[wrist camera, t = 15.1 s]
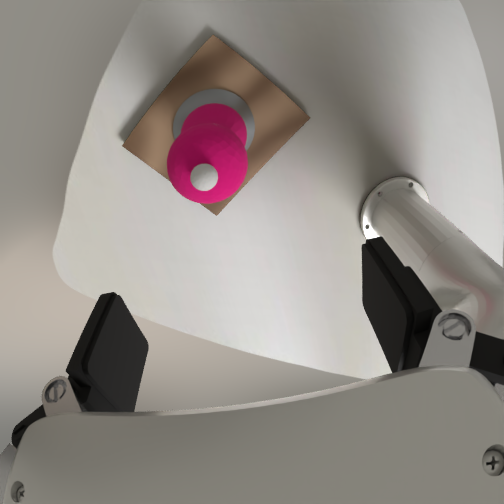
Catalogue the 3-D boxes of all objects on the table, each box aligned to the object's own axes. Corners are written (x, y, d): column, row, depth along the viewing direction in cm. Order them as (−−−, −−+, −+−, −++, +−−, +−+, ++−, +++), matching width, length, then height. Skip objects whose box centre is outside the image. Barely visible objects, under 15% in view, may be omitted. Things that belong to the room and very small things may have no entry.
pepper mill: (194, 94, 33) (159, 112, 16) (252, 109, 35) (278, 142, 18) (179, 149, 37) (138, 219, 20) (235, 163, 38) (242, 243, 21)
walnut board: (307, 116, 37) (311, 118, 36) (217, 211, 43) (216, 217, 42) (213, 36, 31) (212, 34, 29) (125, 143, 37) (121, 146, 35)
